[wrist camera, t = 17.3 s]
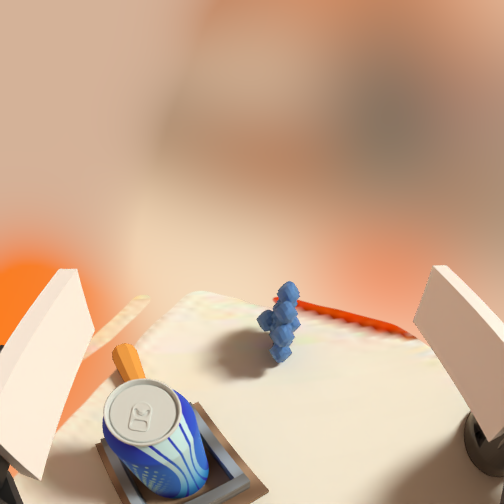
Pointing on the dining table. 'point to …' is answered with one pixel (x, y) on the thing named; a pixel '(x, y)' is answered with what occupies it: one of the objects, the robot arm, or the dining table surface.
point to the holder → (216, 486)
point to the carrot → (128, 362)
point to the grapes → (282, 321)
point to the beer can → (156, 437)
